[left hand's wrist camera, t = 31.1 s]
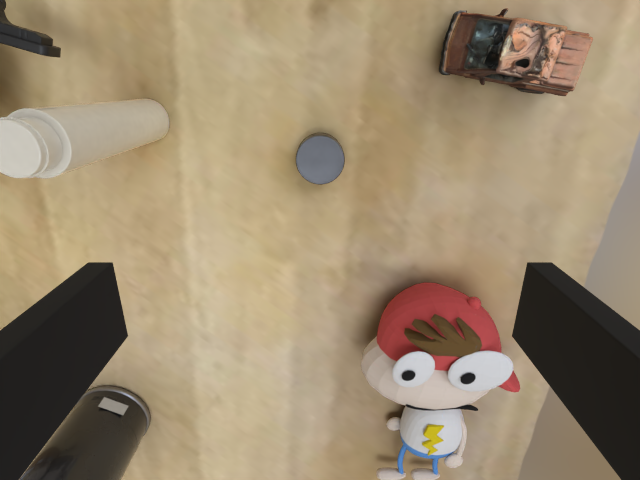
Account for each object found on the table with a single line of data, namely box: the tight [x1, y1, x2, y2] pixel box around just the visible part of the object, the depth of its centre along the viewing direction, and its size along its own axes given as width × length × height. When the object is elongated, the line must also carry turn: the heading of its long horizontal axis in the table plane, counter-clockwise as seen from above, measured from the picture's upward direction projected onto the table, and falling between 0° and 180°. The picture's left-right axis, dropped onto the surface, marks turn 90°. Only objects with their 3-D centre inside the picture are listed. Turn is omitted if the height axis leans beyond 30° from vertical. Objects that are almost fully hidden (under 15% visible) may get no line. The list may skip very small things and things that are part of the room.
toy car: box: [439, 8, 593, 96], centre depth 33 cm, size 6×12×7 cm, turn 88°
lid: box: [296, 133, 344, 184], centre depth 39 cm, size 5×5×2 cm
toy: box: [361, 283, 520, 480], centre depth 47 cm, size 18×10×30 cm
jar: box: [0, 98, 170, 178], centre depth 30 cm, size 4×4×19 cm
